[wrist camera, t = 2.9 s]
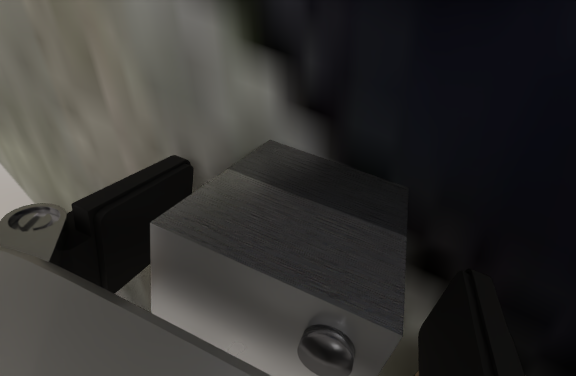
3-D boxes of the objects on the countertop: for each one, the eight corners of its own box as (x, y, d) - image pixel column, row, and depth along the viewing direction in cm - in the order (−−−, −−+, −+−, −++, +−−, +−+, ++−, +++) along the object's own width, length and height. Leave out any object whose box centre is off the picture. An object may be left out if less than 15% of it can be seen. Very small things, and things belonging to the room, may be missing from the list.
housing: (408, 187, 10) (402, 352, 5) (359, 291, 13) (319, 477, 7) (270, 139, 11) (138, 230, 6) (250, 244, 14) (144, 375, 8)
